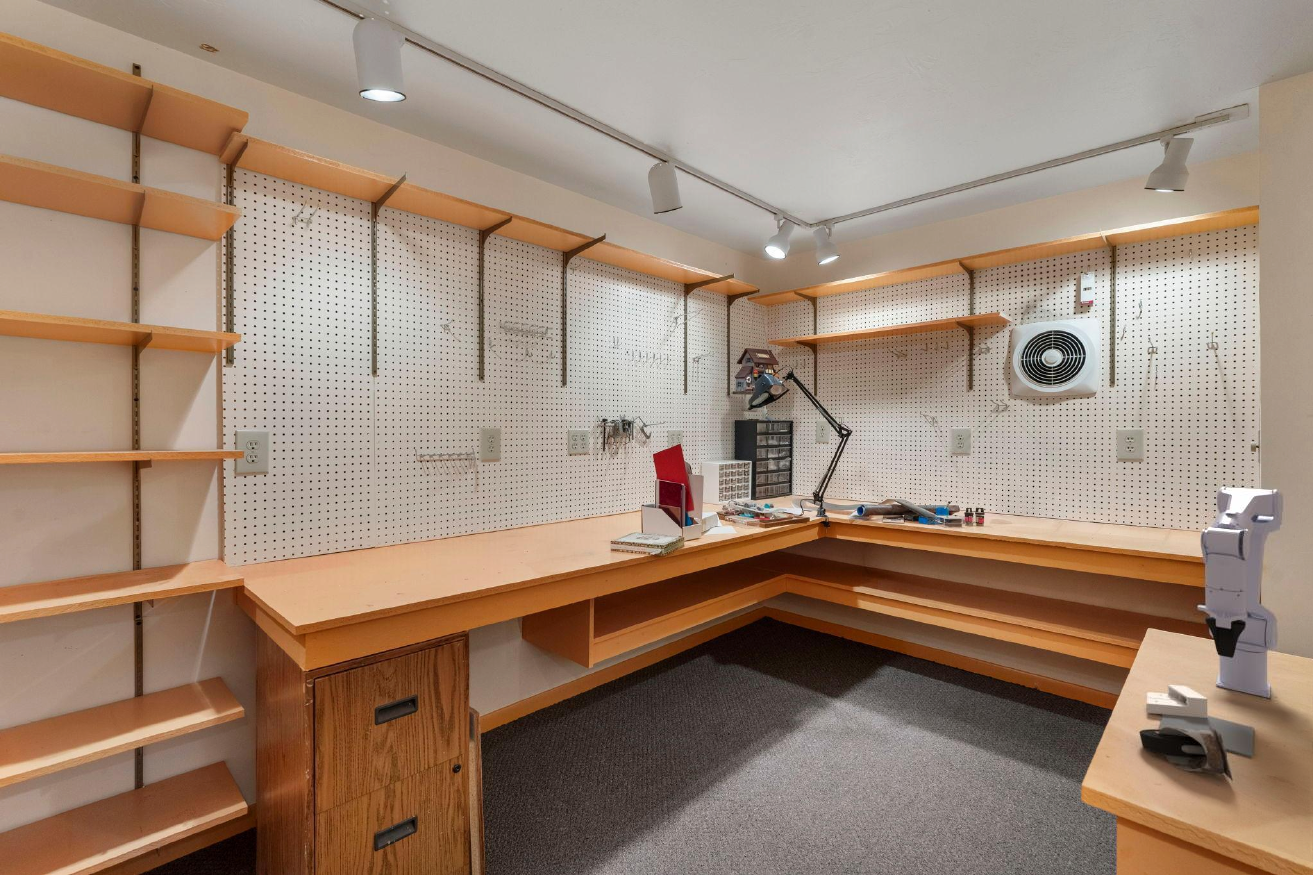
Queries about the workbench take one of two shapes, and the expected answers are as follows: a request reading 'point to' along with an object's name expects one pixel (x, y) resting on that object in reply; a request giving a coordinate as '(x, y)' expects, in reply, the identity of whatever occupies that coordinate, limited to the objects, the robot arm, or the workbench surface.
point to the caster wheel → (1189, 748)
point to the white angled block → (1177, 702)
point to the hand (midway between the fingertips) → (1225, 655)
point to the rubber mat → (1232, 733)
